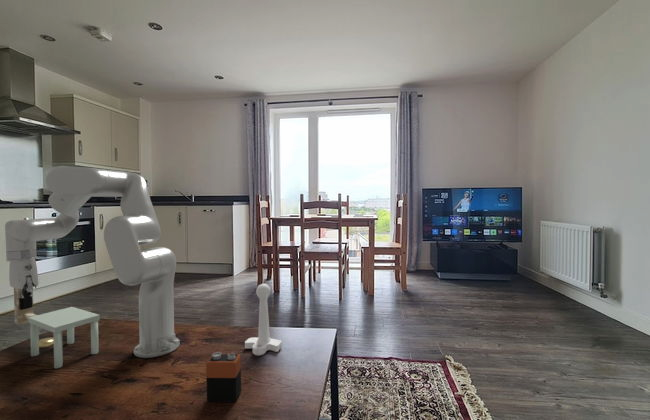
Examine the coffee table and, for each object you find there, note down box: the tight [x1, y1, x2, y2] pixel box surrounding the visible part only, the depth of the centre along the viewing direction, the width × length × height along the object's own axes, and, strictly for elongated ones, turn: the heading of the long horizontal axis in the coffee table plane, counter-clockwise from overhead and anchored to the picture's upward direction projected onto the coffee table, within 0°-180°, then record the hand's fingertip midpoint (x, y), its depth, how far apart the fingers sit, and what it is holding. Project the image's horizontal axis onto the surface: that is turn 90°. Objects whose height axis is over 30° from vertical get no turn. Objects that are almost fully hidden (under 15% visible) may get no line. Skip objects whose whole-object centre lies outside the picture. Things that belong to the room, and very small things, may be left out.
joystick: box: [244, 283, 283, 356], centre depth 94 cm, size 11×8×20 cm
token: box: [39, 337, 54, 349], centre depth 100 cm, size 5×5×2 cm
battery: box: [205, 351, 242, 403], centre depth 71 cm, size 4×7×10 cm, turn 88°
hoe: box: [13, 285, 51, 336], centre depth 103 cm, size 21×5×14 cm, turn 62°
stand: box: [28, 306, 101, 369], centre depth 93 cm, size 17×11×12 cm, turn 62°
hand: (23, 307), depth 107 cm, fingers closed on hoe, 3 cm apart
